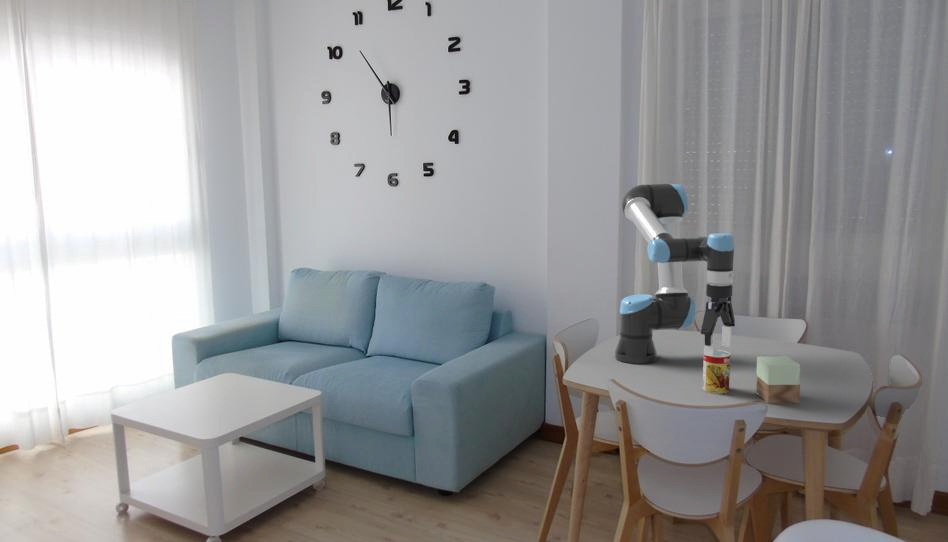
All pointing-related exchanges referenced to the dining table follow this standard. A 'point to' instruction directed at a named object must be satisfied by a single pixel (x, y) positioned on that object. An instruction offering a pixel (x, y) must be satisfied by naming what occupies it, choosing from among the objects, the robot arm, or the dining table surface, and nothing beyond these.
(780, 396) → the walnut block
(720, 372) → the canned food
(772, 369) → the sage block
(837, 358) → the dining table surface
